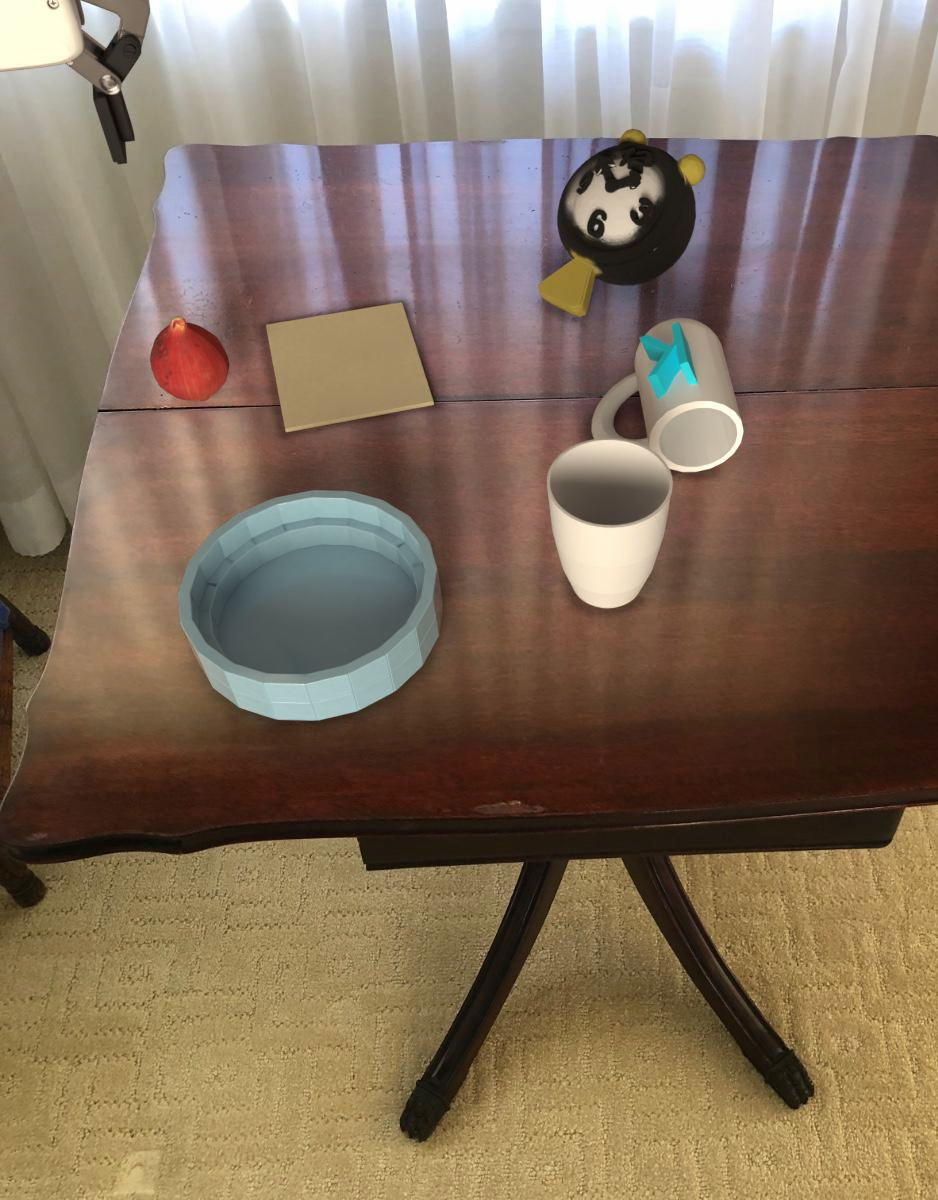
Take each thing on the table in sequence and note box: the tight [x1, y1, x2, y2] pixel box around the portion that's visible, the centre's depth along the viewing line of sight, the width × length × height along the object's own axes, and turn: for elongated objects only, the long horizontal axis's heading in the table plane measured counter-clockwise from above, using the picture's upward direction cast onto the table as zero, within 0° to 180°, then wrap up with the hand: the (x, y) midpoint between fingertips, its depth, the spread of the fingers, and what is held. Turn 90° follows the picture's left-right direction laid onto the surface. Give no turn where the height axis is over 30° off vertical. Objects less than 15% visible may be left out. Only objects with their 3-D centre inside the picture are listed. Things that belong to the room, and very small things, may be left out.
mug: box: [591, 317, 744, 473], centre depth 86 cm, size 12×9×12 cm
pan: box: [177, 489, 444, 722], centre depth 74 cm, size 17×17×4 cm
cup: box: [546, 438, 674, 609], centre depth 75 cm, size 8×8×10 cm
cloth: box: [265, 301, 435, 433], centre depth 93 cm, size 12×14×1 cm
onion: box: [149, 315, 230, 402], centre depth 87 cm, size 6×6×8 cm
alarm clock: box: [537, 128, 707, 317], centre depth 98 cm, size 12×15×15 cm
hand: (33, 163), depth 64 cm, fingers open, 9 cm apart
